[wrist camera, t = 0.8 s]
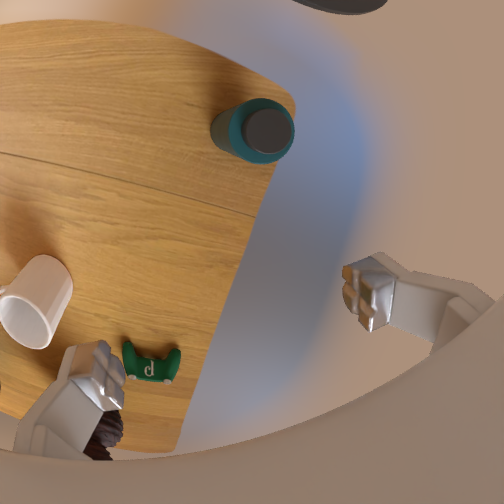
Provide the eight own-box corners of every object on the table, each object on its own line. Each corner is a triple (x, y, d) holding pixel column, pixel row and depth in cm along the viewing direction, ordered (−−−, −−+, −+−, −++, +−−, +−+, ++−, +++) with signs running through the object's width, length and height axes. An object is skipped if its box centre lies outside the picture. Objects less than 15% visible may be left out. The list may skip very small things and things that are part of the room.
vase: (50, 353, 34) (18, 510, 8) (129, 378, 40) (135, 541, 14) (54, 397, 39) (40, 521, 13) (120, 417, 45) (127, 542, 19)
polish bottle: (222, 102, 27) (253, 82, 15) (261, 121, 29) (315, 118, 17) (202, 141, 28) (219, 148, 16) (242, 158, 30) (284, 179, 18)
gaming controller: (124, 341, 39) (121, 376, 37) (122, 341, 36) (120, 379, 33) (178, 349, 42) (176, 383, 40) (181, 349, 39) (179, 386, 37)
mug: (5, 245, 26) (-31, 280, 17) (72, 259, 30) (44, 302, 21) (12, 293, 28) (-15, 333, 20) (75, 308, 32) (56, 356, 24)
